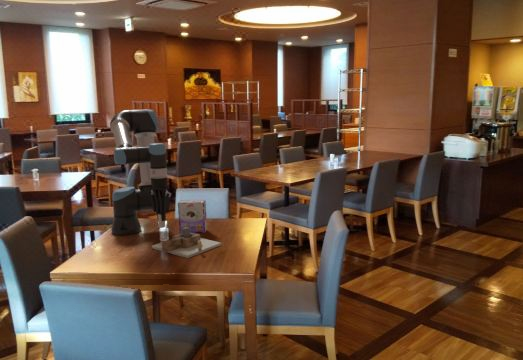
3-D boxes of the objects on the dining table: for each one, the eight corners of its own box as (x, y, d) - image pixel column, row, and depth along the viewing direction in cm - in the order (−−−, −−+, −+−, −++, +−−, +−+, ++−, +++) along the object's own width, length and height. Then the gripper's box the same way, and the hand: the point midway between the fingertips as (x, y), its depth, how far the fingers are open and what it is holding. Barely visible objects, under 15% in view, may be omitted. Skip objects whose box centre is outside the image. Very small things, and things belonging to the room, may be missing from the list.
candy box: (207, 230, 247) (206, 199, 244) (205, 233, 241) (203, 202, 238) (182, 229, 248) (180, 199, 245) (179, 232, 242) (177, 202, 239)
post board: (151, 248, 218) (150, 229, 216) (186, 236, 235) (185, 219, 234) (188, 258, 203) (187, 238, 202) (222, 245, 220) (221, 227, 219)
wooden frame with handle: (186, 239, 225) (186, 231, 225) (200, 242, 220) (200, 234, 219) (157, 249, 211) (157, 241, 210) (171, 253, 206) (171, 244, 205)
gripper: (142, 177, 212) (146, 227, 216) (163, 179, 205) (166, 231, 209) (154, 175, 218) (157, 223, 222) (175, 176, 211) (178, 227, 215)
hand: (162, 227), depth 215 cm, fingers closed
